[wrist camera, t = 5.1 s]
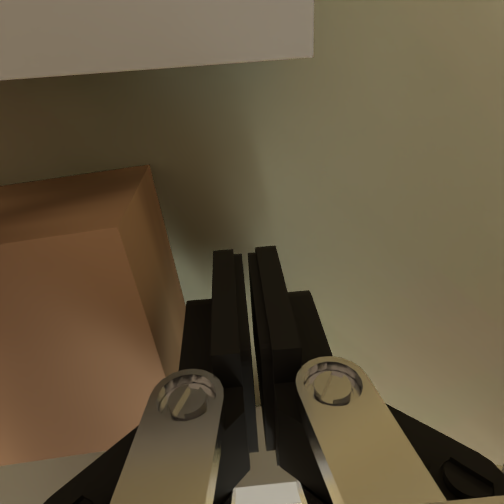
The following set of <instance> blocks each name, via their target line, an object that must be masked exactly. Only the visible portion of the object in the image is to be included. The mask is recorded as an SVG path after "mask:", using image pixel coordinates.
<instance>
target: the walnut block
mask: <svg viewBox="0 0 504 504" xmlns="http://www.w3.org/2000/svg"><path fill="white" fill-rule="evenodd" d="M185 311H186V306H185V302H184V298H183V294H182V290H181V286H180V282H179V279H178V275H177V271H176V267H175V263H174V259H173V255H172V251H171V247H170V243H169V240H168V236H167V232H166V228H165V224H164V220H163V216H162V212H161V208H160V204H159V200H158V197H157V193H156V189H155V185H154V181H153V177H152V173H151V169H150V165H142V166H135V167H128V168H122V169H115V170H108V171H101V172H94V173H87V174H80V175H73V176H66V177H59V178H53V179H46V180H39V181H32V182H25V183H18V184H11V185H4V186H0V466H5V465H12V464H19V463H26V462H32V461H39V460H46V459H53V458H60V457H67V456H74V455H81V454H88V453H95V452H102V451H107V450H108V449H110V448H111V447H112V446H113V445H115V444H116V443H117V442H118V441H120V440H121V439H122V438H123V437H125V436H126V435H127V434H128V433H129V432H131V431H132V430H133V429H134V428H136V427H137V426H138V425H139V423H140V421H141V418H142V415H143V413H144V410H145V407H146V405H147V402H148V399H149V396H150V394H151V393H152V391H153V389H154V387H155V386H156V385H157V384H158V383H159V382H160V381H161V380H162V379H163V378H165V377H167V376H168V375H170V374H172V373H174V372H178V371H179V362H180V354H181V345H182V336H183V328H184V319H185Z"/></svg>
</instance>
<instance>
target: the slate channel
mask: <svg viewBox="0 0 504 504" xmlns="http://www.w3.org/2000/svg"><path fill="white" fill-rule="evenodd" d="M312 57H314V0H0V80H12V79H26V78H39V77H53V76H67V75H80V74H94V73H107V72H121V71H135V70H148V69H162V68H176V67H189V66H203V65H216V64H230V63H244V62H257V61H271V60H285V59H298V58H312ZM255 408H256V421H257V435H258V448H259V452H254V453H249V455H250V471H249V472H248V473H247V474H246V475H245V476H244V477H243V478H242V480H241V481H240V482H239V483H238V484H237V485H236V502H235V504H296V503H302V502H301V499H300V496H299V493H298V490H297V484H296V479H295V478H294V477H293V476H291V475H290V474H289V473H287V472H286V471H285V470H283V469H282V468H281V467H280V466H277V460H276V452H275V450H274V451H266V445H265V436H264V427H263V418H262V409H261V406H259V407H255ZM105 452H106V451H102V452H95V453H88V454H81V455H74V456H67V457H60V458H53V459H46V460H39V461H32V462H26V463H19V464H12V465H5V466H0V504H43V503H44V502H45V501H46V500H47V499H48V498H49V497H50V496H51V495H53V494H54V493H55V492H56V491H58V490H59V489H60V488H61V487H63V486H64V485H65V484H66V483H68V482H69V481H70V480H71V479H73V478H74V477H75V476H76V475H77V474H79V473H80V472H81V471H82V470H84V469H85V468H86V467H87V466H89V465H90V464H91V463H92V462H94V461H95V460H96V459H97V458H99V457H100V456H101V455H102V454H103V453H105Z"/></svg>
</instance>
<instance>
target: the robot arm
mask: <svg viewBox="0 0 504 504" xmlns="http://www.w3.org/2000/svg"><path fill="white" fill-rule="evenodd" d="M248 263H249V278H250V292H251V307H252V322H253V335H254V346H255V355H256V364H257V373H258V382H259V391H260V400H261V409H262V418H263V427H264V436H265V445H266V451H274V450H275V452H276V460H277V466H280V467H281V468H282V469H283V470H285V471H286V472H287V473H289V474H290V475H291V476H293V477H294V478H295V479H296V484H297V490H298V493H299V496H300V499H301V502H302V504H504V465H503V466H500V465H495V464H494V463H493V462H492V461H490V460H489V459H487V458H486V457H484V456H483V455H481V454H480V453H478V452H476V451H474V450H472V449H470V448H468V447H467V446H465V445H463V444H461V443H459V442H457V441H455V440H453V439H452V438H450V437H448V436H446V435H444V434H442V433H440V432H438V431H436V430H435V429H433V428H431V427H429V426H427V425H425V424H423V423H421V422H420V421H418V420H416V419H414V418H412V417H410V416H408V415H406V414H404V413H403V412H401V411H399V410H397V409H395V408H393V407H391V406H389V405H388V404H386V403H385V402H384V401H383V399H382V397H381V396H380V394H379V393H378V391H377V390H376V388H375V386H374V385H373V383H372V382H371V380H370V379H369V377H368V375H367V374H366V373H365V372H364V371H363V370H362V368H361V367H359V366H358V365H356V364H355V363H353V362H352V361H349V360H346V359H344V358H340V357H333V356H332V353H331V350H330V347H329V344H328V341H327V339H326V336H325V333H324V330H323V327H322V324H321V321H320V318H319V315H318V312H317V309H316V306H315V304H314V301H313V298H312V295H311V293H310V291H309V290H308V291H296V292H287V288H286V284H285V280H284V276H283V273H282V269H281V265H280V261H279V257H278V253H277V249H276V246H266V247H255V253H248ZM254 452H259V448H258V435H257V421H256V408H255V394H254V380H253V367H252V354H251V343H250V333H249V323H248V313H247V303H246V293H245V283H244V273H243V263H242V254H234V252H233V249H230V250H218V251H213V274H212V299H203V300H192V301H187V303H186V311H185V319H184V328H183V336H182V345H181V354H180V362H179V371H178V372H174V373H172V374H170V375H168V376H167V377H165V378H163V379H162V380H161V381H160V382H159V383H158V384H157V385H156V386H155V387H154V389H153V391H152V393H151V394H150V396H149V399H148V402H147V405H146V407H145V410H144V413H143V415H142V418H141V421H140V423H139V425H138V426H137V427H136V428H134V429H133V430H132V431H131V432H129V433H128V434H127V435H126V436H125V437H123V438H122V439H121V440H120V441H118V442H117V443H116V444H115V445H113V446H112V447H111V448H110V449H108V450H107V451H106V452H105V453H103V454H102V455H101V456H100V457H99V458H97V459H96V460H95V461H94V462H92V463H91V464H90V465H89V466H87V467H86V468H85V469H84V470H82V471H81V472H80V473H79V474H77V475H76V476H75V477H74V478H73V479H71V480H70V481H69V482H68V483H66V484H65V485H64V486H63V487H61V488H60V489H59V490H58V491H56V492H55V493H54V494H53V495H51V496H50V497H49V498H48V499H47V500H46V501H45V502H44V503H43V504H235V502H236V485H237V484H238V483H239V482H240V481H241V480H242V478H243V477H244V476H245V475H246V474H247V473H248V472H249V471H250V455H249V453H254Z"/></svg>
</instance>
